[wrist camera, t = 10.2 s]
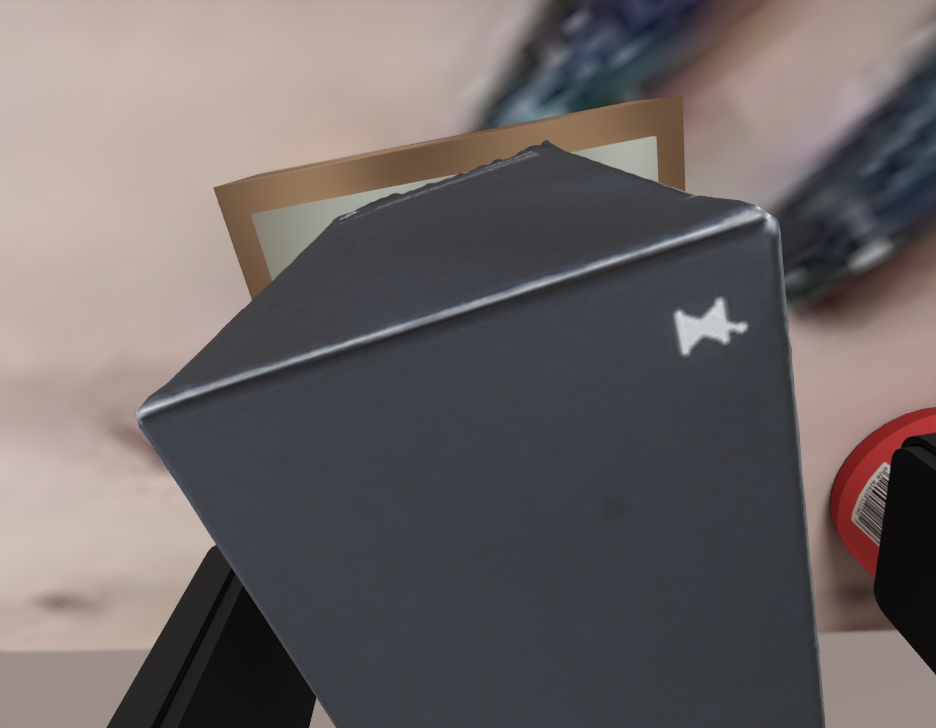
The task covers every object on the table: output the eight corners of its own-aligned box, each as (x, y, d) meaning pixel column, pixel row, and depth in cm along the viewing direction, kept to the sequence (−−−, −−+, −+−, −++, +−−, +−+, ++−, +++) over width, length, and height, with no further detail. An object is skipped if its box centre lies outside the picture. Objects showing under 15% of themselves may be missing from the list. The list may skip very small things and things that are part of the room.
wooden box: (631, 101, 18) (687, 95, 14) (651, 429, 23) (697, 495, 19) (258, 174, 18) (208, 188, 14) (355, 483, 23) (337, 558, 19)
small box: (312, 218, 15) (69, 408, 5) (557, 133, 14) (818, 161, 4) (445, 531, 19) (454, 968, 9) (639, 473, 18) (867, 872, 9)
